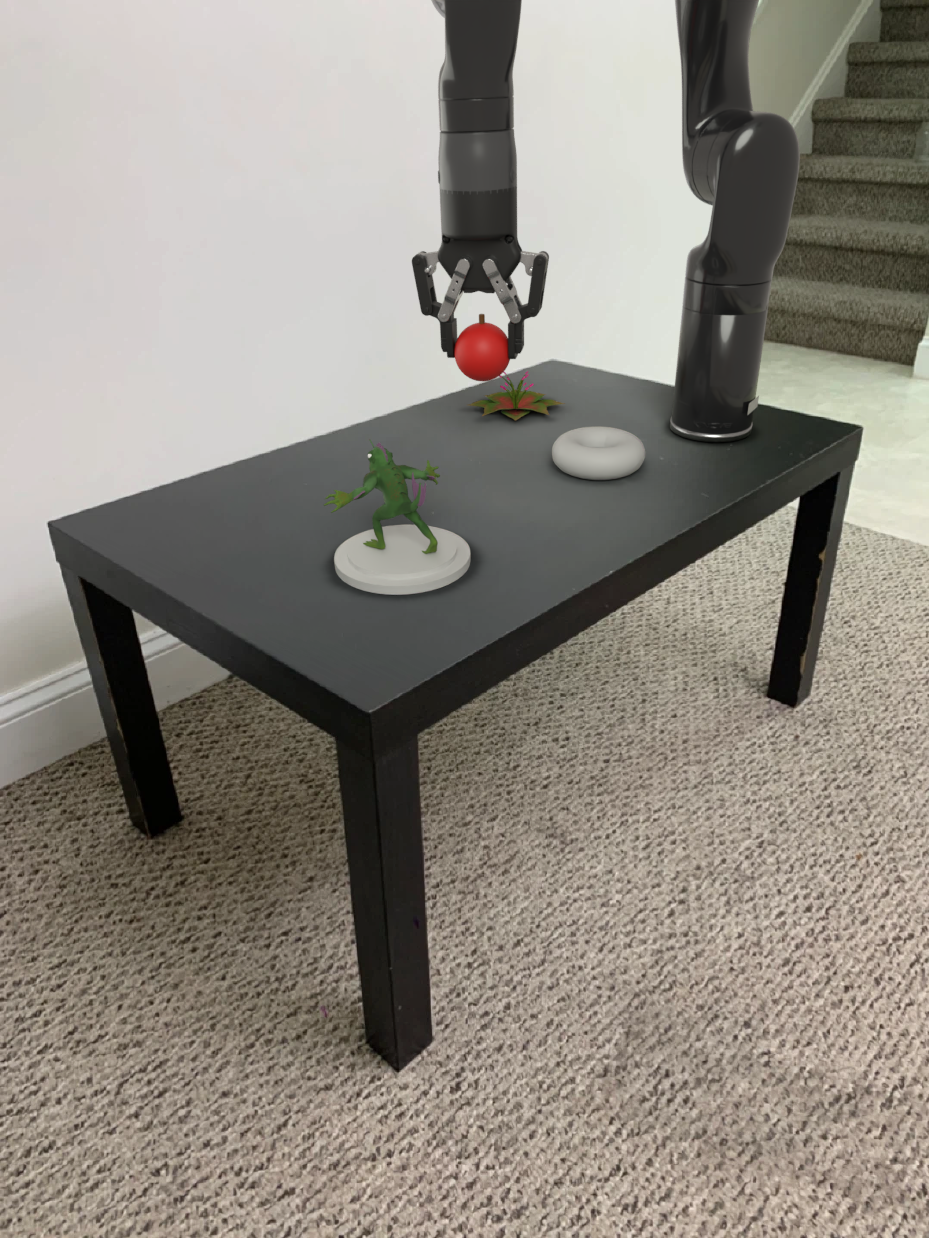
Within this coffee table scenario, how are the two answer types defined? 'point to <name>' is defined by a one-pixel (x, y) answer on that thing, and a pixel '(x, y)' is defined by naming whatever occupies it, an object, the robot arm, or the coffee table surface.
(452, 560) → the monster figurine
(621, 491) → the coffee table surface
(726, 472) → the coffee table surface
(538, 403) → the lily flower
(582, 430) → the donut
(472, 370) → the apple
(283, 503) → the coffee table surface
